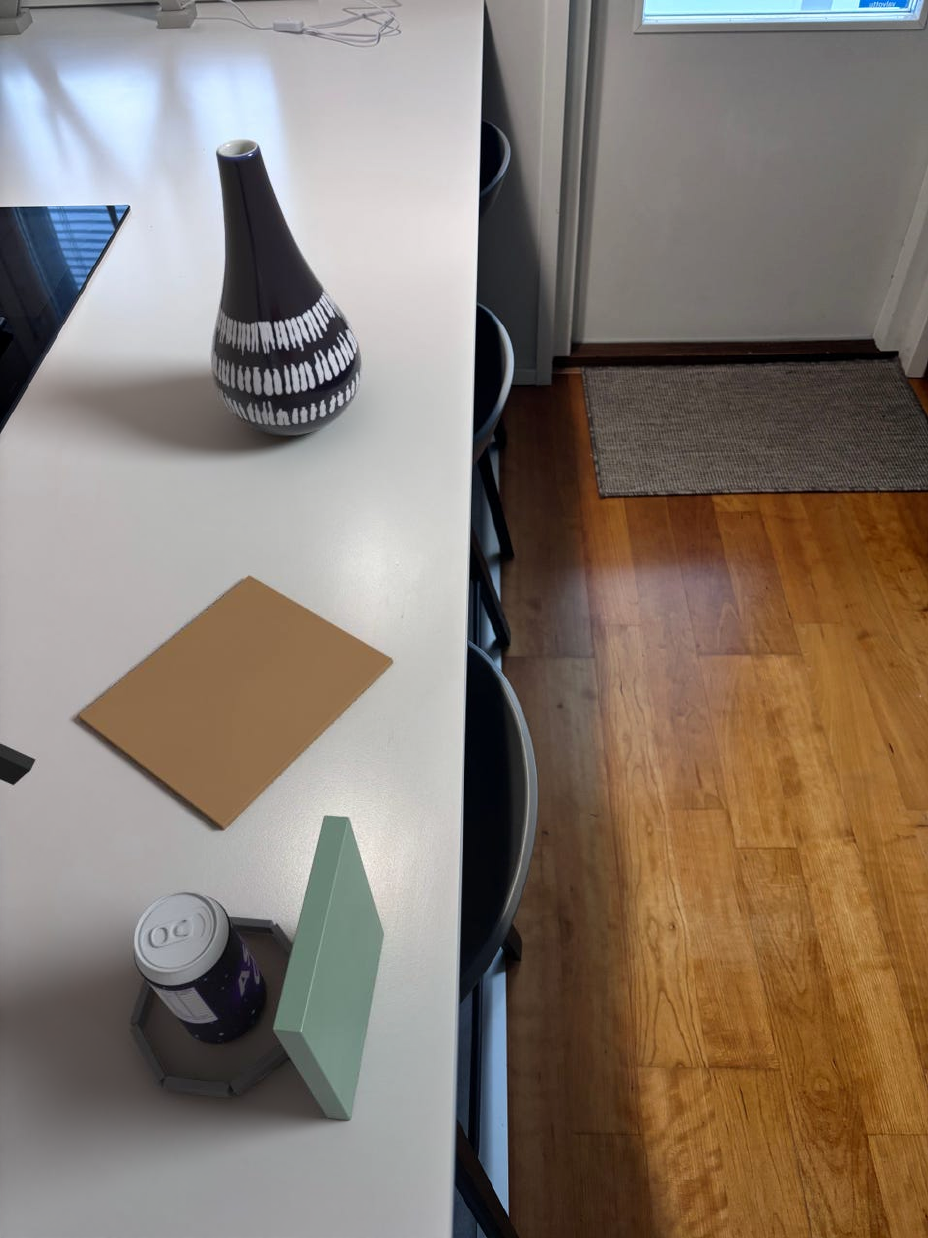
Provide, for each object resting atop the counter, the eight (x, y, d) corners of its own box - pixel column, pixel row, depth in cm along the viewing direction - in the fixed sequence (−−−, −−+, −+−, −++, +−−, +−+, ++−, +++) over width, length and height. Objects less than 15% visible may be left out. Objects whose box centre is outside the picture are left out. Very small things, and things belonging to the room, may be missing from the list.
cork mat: (224, 830, 72) (222, 826, 72) (80, 719, 80) (77, 715, 80) (393, 663, 82) (392, 658, 82) (250, 579, 90) (249, 574, 90)
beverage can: (275, 1033, 62) (230, 961, 53) (189, 1061, 61) (129, 992, 52) (263, 952, 66) (219, 872, 57) (181, 977, 65) (123, 900, 56)
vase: (205, 452, 104) (114, 181, 82) (263, 370, 114) (197, 108, 92) (340, 471, 100) (284, 192, 78) (388, 384, 110) (350, 115, 88)
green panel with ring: (115, 1093, 60) (9, 1002, 48) (174, 914, 68) (96, 797, 56) (350, 1121, 58) (301, 1033, 46) (384, 933, 66) (349, 816, 54)
